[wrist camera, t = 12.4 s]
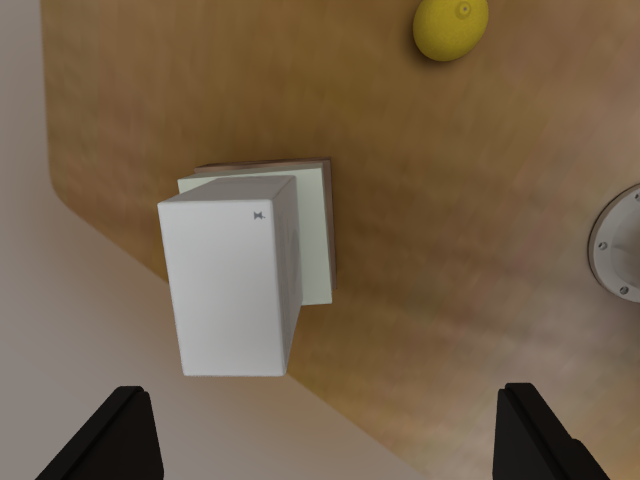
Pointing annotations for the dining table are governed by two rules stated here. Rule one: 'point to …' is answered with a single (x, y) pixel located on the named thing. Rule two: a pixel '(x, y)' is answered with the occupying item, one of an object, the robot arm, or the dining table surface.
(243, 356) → the skincare box
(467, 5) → the lemon
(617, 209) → the robot arm
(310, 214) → the grey green slab
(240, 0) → the dining table surface
